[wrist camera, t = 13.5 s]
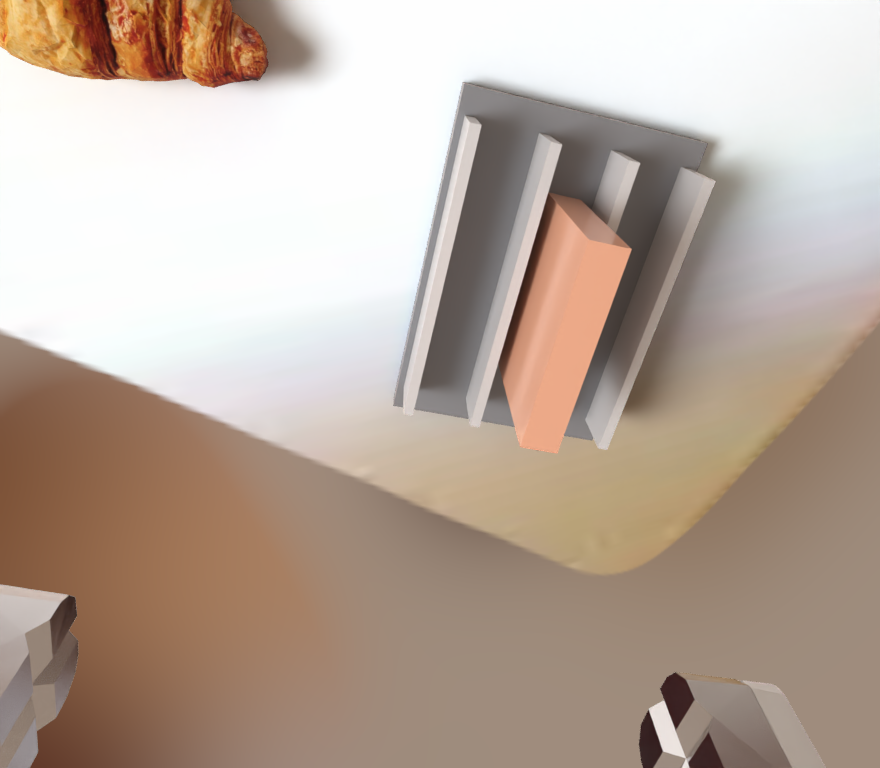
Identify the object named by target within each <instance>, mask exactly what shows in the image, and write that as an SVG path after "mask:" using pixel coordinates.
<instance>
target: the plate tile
mask: <svg viewBox="0 0 880 768" xmlns="http://www.w3.org/2000/svg"><path fill="white" fill-rule="evenodd" d="M631 250H632V249H631V248H630V247H629V246H628V245H627V244H626V243H625V242H624V241H623V240H622V239H621V238H620V237H619V236H618V235H617V234H616V233H615V232H614V231H613V230H612V229H610V228H609V227H608V226H607V225H606V224H605V223H604V222H603V221H602V220H601V219H600V218H599V217H598V216H597V215H596V214H595V213H594V212H593V211H592V210H591V209H590V208H589V207H588V206H587V205H586V204H585V203H584V202H583V201H582V200H580V199H575V198H571V197H567V196H562V195H558V194H553V193H549V192H548V195H547V198H546V202H545V205H544V209H543V212H542V216H541V219H540V222H539V226H538V229H537V233H536V236H535V239H534V243H533V246H532V250H531V253H530V256H529V260H528V263H527V267H526V270H525V273H524V277H523V280H522V284H521V287H520V290H519V294H518V297H517V301H516V304H515V307H514V311H513V314H512V318H511V321H510V324H509V328H508V331H507V335H506V338H505V341H504V345H503V348H502V352H501V355H500V359H499V362H498V365H499V368H500V372H501V376H502V380H503V384H504V388H505V391H506V395H507V399H508V403H509V407H510V410H511V414H512V418H513V422H514V426H515V430H516V433H517V437H518V441H519V445H520V447H523V448H528V449H534V450H540V451H546V452H552V453H558V450H559V447H560V444H561V442H562V439H563V436H564V433H565V431H566V428H567V425H568V423H569V420H570V417H571V414H572V412H573V409H574V406H575V403H576V401H577V398H578V395H579V392H580V390H581V387H582V384H583V381H584V379H585V376H586V373H587V370H588V368H589V365H590V362H591V360H592V357H593V354H594V351H595V349H596V346H597V343H598V340H599V338H600V335H601V332H602V329H603V327H604V324H605V321H606V318H607V316H608V313H609V310H610V308H611V305H612V302H613V299H614V297H615V294H616V291H617V288H618V286H619V283H620V280H621V277H622V275H623V272H624V269H625V266H626V264H627V261H628V258H629V255H630V253H631Z"/></svg>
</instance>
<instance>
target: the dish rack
mask: <svg viewBox="0 0 880 768" xmlns="http://www.w3.org/2000/svg"><path fill="white" fill-rule="evenodd" d="M707 144H708V143H705V142H702V141H700V140H695V139H691V138H687V137H683V136H679V135H675V134H671V133H667V132H663V131H659V130H655V129H651V128H647V127H643V126H639V125H635V124H630V123H626V122H622V121H618V120H614V119H610V118H606V117H602V116H598V115H594V114H590V113H586V112H582V111H578V110H574V109H569V108H565V107H561V106H557V105H553V104H549V103H545V102H541V101H537V100H533V99H529V98H525V97H521V96H517V95H513V94H509V93H504V92H500V91H496V90H492V89H488V88H484V87H480V86H476V85H472V84H468V83H464V82H463V83H462V88H461V92H460V97H459V102H458V106H457V111H456V115H455V120H454V124H453V129H452V134H451V138H450V143H449V147H448V152H447V156H446V161H445V166H444V170H443V175H442V179H441V184H440V188H439V193H438V198H437V202H436V207H435V211H434V216H433V220H432V225H431V230H430V234H429V239H428V243H427V248H426V252H425V257H424V262H423V266H422V271H421V275H420V280H419V284H418V289H417V294H416V298H415V303H414V307H413V312H412V316H411V321H410V326H409V330H408V335H407V339H406V344H405V348H404V353H403V358H402V362H401V367H400V371H399V376H398V380H397V385H396V390H395V394H394V404H393V406H398V407H403V414H404V415H410V416H413V412H414V409H415V410H421V411H427V412H432V413H438V414H444V415H449V416H455V417H461V418H466V419H469V424H470V426H473V427H480V423H481V421H483V422H489V423H495V424H501V425H506V426H512V427H515V426H514V422H513V418H512V414H511V410H510V407H509V403H508V399H507V395H506V391H505V388H504V384H503V380H502V376H501V372H500V368H499V365H498V362H499V359H500V355H501V352H502V348H503V345H504V341H505V338H506V335H507V331H508V328H509V324H510V321H511V318H512V314H513V311H514V307H515V304H516V301H517V297H518V294H519V290H520V287H521V284H522V280H523V277H524V273H525V270H526V267H527V263H528V260H529V256H530V253H531V250H532V246H533V243H534V239H535V236H536V233H537V229H538V226H539V222H540V219H541V216H542V212H543V209H544V205H545V202H546V198H547V195H548V192H549V193H553V194H558V195H562V196H567V197H571V198H575V199H580V200H582V201H583V202H584V203H585V204H586V205H587V206H588V207H589V208H590V209H591V210H592V211H593V212H594V213H595V214H596V215H597V216H598V217H599V218H600V219H601V220H602V221H603V222H604V223H605V224H606V225H607V226H608V227H609V228H610V229H612V230H613V231H614V232H615V233H616V234H617V235H618V236H619V237H620V238H621V239H622V240H623V241H624V242H625V243H626V244H627V245H628V246H629V247H630V248H631V249H632V250H631V253H630V255H629V258H628V261H627V264H626V266H625V269H624V272H623V275H622V277H621V280H620V283H619V286H618V288H617V291H616V294H615V297H614V299H613V302H612V305H611V308H610V310H609V313H608V316H607V318H606V321H605V324H604V327H603V329H602V332H601V335H600V338H599V340H598V343H597V346H596V349H595V351H594V354H593V357H592V360H591V362H590V365H589V368H588V370H587V373H586V376H585V379H584V381H583V384H582V387H581V390H580V392H579V395H578V398H577V401H576V403H575V406H574V409H573V412H572V414H571V417H570V420H569V423H568V425H567V428H566V431H565V433H564V436H569V437H574V438H580V439H586V440H592V439H593V438H594V440H595V443H596V445H597V447H598V448H599V449H605V450H607V449H608V446H609V444H610V441H611V439H612V436H613V434H614V431H615V429H616V426H617V424H618V421H619V419H620V417H621V414H622V412H623V409H624V407H625V404H626V402H627V399H628V397H629V394H630V392H631V389H632V387H633V384H634V382H635V379H636V377H637V375H638V372H639V370H640V367H641V365H642V362H643V360H644V357H645V355H646V352H647V350H648V347H649V345H650V342H651V340H652V338H653V335H654V333H655V330H656V328H657V325H658V323H659V320H660V318H661V315H662V313H663V310H664V308H665V305H666V303H667V301H668V298H669V296H670V293H671V291H672V288H673V286H674V283H675V281H676V278H677V276H678V273H679V271H680V268H681V266H682V263H683V261H684V259H685V256H686V254H687V251H688V249H689V246H690V244H691V241H692V239H693V236H694V234H695V231H696V229H697V226H698V224H699V222H700V219H701V217H702V214H703V212H704V209H705V207H706V204H707V202H708V199H709V197H710V194H711V192H712V189H713V187H714V185H715V182H716V181H715V180H713V179H710V178H708V177H706V176H704V175H702V174H700V173H698V172H697V170H698V167H699V165H700V162H701V160H702V157H703V155H704V152H705V150H706V147H707Z"/></svg>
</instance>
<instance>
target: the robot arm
mask: <svg viewBox="0 0 880 768" xmlns="http://www.w3.org/2000/svg"><path fill="white" fill-rule="evenodd" d="M76 617H77V610H76V599H75V597H73V596H70V595H64V594H58V593H52V592H45V591H38V590H32V589H25V588H19V587H13V586H7V585H0V768H30V766H31V764H32V763H33V761H34V759H35V757H36V755H37V753H38V744H37V731H38V730H39V729H40V728H42V727H43V726H44V725H46V724H48V723H49V722H51V721H52V720H53V719H55V718H56V717H57V715H58V713H59V711H60V709H61V707H62V705H63V703H64V701H65V699H66V697H67V695H68V692H69V689H70V686H71V683H72V681H73V678H74V675H75V672H76V666H77V659H78V640H77V639H76V638H75V637H74V636H73V635H72V633H71V632H70V631H69V629H70V627H71V626H72V624H73V622H74V620H75V618H76ZM660 690H661V693H662V695H663V698H664V700H663V701H662V702H660V703H658V704H656V705H655V706H653V707H651V708H650V709H649V710H648V712H647V713H646V716H645V718H644V719H643V722H642V724H641V729H640V739H639V749H640V756H641V763H642V766H643V768H826V767H825V765H824V763H823V761H822V760H821V758H820V756H819V754H818V753H817V751H816V749H815V747H814V746H813V744H812V742H811V740H810V739H809V737H808V735H807V733H806V732H805V730H804V728H803V726H802V724H801V723H800V721H799V719H798V717H797V716H796V714H795V712H794V711H793V709H792V707H791V706H790V703H789V702H788V700H787V698H786V696H785V695H784V694H783V692H782V691H781V690H780V689H779V688H778V687H776V686H775V685H774V684H767V683H759V682H751V681H743V680H739V681H738V680H736V679H731V678H722V677H712V676H703V675H696V674H687V673H678V672H675V673H673V674H671V675H669V676H668V677H667V678H666V680H665V681H664V683H663V685H662V686H661V688H660Z"/></svg>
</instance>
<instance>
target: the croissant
mask: <svg viewBox="0 0 880 768" xmlns="http://www.w3.org/2000/svg"><path fill="white" fill-rule="evenodd" d="M0 47H2V48H3V49H5V50H7V51H8V52H9V53H10V54H11V55H13V56H15V57H17V58H19V59H21V60H23V61H25V62H27V63H30V64H32V65H35V66H39V67H42V68H46V69H49V70H52V71H56V72H59V73H62V74H65V75H68V76H73V77H82V78H89V79H104V80H112V79H136V80H140V81H170V80H178V79H187V78H188V79H190V80H192V81H195V82H197V83H199V84H200V85H201V86H208V87H213V88H214V87H218V86H221V85H225V84H229V83H232V82H241V81H249V80H256V81H258V80H259V79H260V78H261V77H262V75H263V74H264V73H265V71H266V68H267V67H268V59H267V57H266V55H267V49H266V46H265V43H264V42H263V40H262V38H261V36H260V35H259V34H258V32H257V31H256V30H255V29H254V27H252V26H250V25H249V24H247V23H245V22H244V21H243V20H242V19H241V18H240V16H239V15H237V14H235V13H233V12H232V5H231V2H230V0H0Z"/></svg>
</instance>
